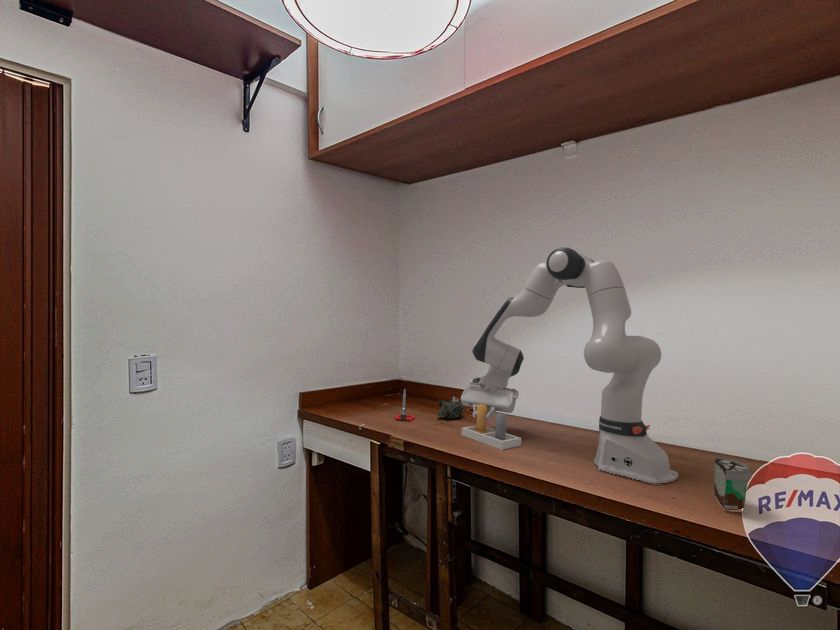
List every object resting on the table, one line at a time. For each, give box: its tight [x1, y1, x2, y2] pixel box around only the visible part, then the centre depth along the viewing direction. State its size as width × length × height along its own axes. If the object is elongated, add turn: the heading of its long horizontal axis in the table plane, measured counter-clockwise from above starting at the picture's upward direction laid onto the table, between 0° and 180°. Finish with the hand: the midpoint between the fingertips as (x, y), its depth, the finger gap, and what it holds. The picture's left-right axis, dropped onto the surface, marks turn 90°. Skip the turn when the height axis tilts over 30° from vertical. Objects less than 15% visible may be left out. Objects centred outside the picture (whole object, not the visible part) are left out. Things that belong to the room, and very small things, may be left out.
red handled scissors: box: [394, 388, 416, 422], centre depth 187 cm, size 8×13×9 cm
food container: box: [713, 455, 752, 510], centre depth 107 cm, size 12×6×10 cm, turn 158°
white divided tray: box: [461, 425, 522, 451], centre depth 154 cm, size 20×9×4 cm, turn 35°
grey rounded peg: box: [495, 412, 507, 441], centre depth 151 cm, size 4×4×10 cm
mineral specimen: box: [435, 396, 466, 420], centre depth 193 cm, size 15×13×10 cm
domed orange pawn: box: [475, 404, 488, 434], centre depth 158 cm, size 4×4×10 cm
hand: (480, 417), depth 158 cm, fingers closed on domed orange pawn, 3 cm apart
